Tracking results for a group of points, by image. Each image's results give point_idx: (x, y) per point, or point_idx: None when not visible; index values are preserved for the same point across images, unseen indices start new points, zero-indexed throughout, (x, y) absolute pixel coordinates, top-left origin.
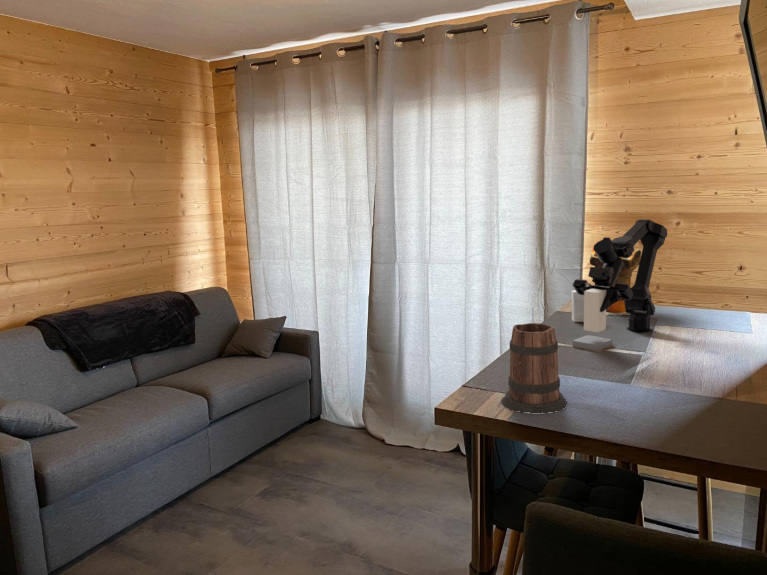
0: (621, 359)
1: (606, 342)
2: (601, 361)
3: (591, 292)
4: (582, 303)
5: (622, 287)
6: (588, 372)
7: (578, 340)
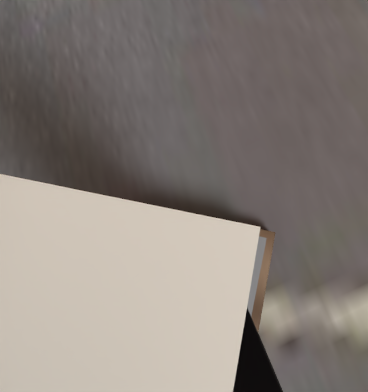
0: None
1: None
2: (107, 140)
3: (76, 194)
4: None
5: None
6: (117, 15)
7: None
